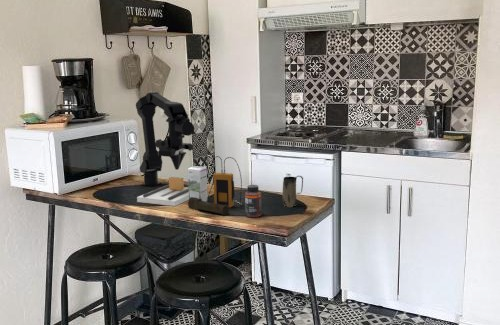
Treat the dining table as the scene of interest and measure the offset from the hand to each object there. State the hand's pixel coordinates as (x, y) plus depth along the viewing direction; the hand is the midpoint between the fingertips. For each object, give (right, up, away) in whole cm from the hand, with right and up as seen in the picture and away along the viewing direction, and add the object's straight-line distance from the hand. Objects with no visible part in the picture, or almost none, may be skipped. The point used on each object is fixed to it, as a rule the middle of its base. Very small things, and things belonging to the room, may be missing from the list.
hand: (176, 169), depth 217 cm
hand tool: (+15, -16, -25) cm, 33 cm away
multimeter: (+22, -14, -15) cm, 30 cm away
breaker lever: (0, -9, +1) cm, 9 cm away
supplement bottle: (+33, -17, -31) cm, 48 cm away
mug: (+48, -14, -18) cm, 53 cm away
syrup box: (+10, -13, -12) cm, 21 cm away
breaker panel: (-2, -12, -4) cm, 12 cm away
